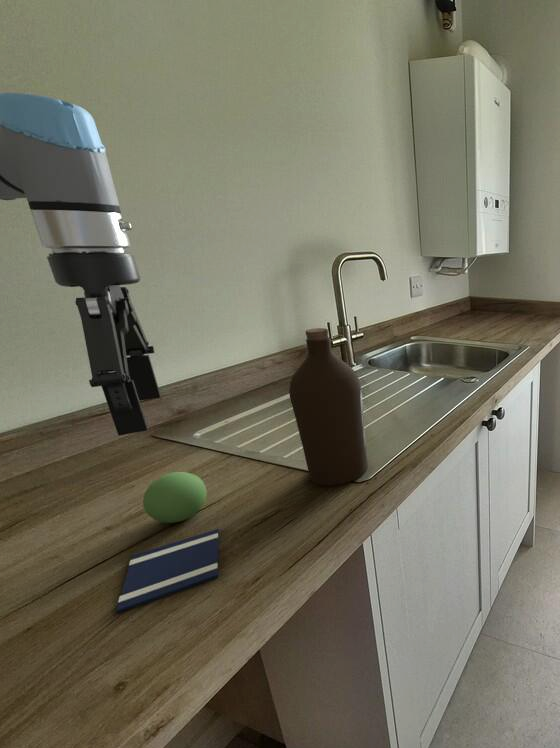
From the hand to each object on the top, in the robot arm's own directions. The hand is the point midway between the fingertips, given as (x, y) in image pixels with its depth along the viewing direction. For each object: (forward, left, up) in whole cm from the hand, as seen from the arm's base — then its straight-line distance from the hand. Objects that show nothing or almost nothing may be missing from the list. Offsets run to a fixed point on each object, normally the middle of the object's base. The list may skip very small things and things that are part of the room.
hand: (142, 414), depth 56 cm
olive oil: (+3, +23, -16) cm, 28 cm away
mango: (+3, +1, -12) cm, 13 cm away
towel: (+15, +1, -16) cm, 21 cm away
